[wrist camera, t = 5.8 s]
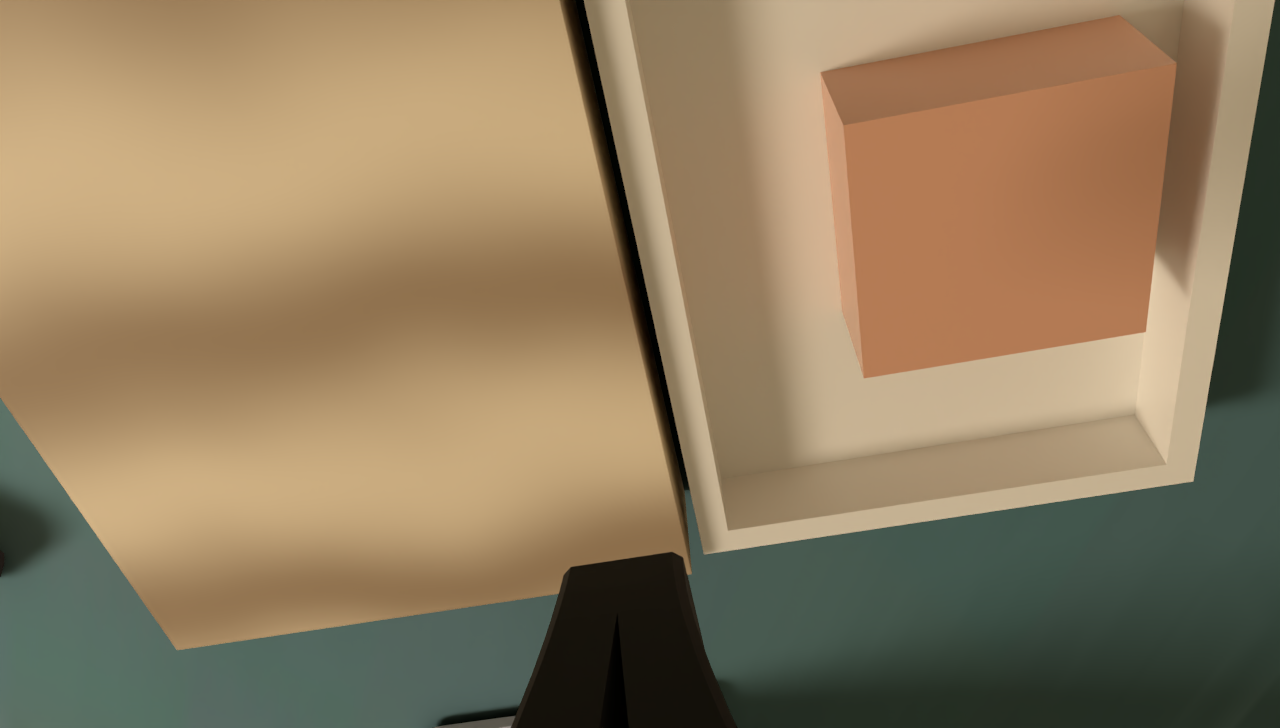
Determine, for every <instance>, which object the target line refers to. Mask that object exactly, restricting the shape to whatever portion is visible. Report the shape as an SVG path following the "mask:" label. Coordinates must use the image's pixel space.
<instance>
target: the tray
mask: <svg viewBox="0 0 1280 728" xmlns="http://www.w3.org/2000/svg"><path fill="white" fill-rule="evenodd" d="M1274 2H1275V0H584V4H585V9H586V13H587V18H588V22H589V27H590V32H591V36H592V41H593V45H594V50H595V55H596V59H597V64H598V68H599V73H600V78H601V82H602V87H603V91H604V96H605V101H606V105H607V110H608V114H609V119H610V124H611V128H612V133H613V137H614V142H615V147H616V151H617V156H618V161H619V165H620V170H621V174H622V179H623V184H624V188H625V193H626V197H627V202H628V207H629V211H630V216H631V220H632V225H633V230H634V234H635V239H636V243H637V248H638V253H639V257H640V262H641V266H642V271H643V276H644V280H645V285H646V289H647V294H648V299H649V303H650V308H651V312H652V317H653V322H654V326H655V331H656V335H657V340H658V345H659V349H660V354H661V359H662V363H663V368H664V372H665V377H666V382H667V386H668V391H669V395H670V400H671V405H672V409H673V414H674V418H675V423H676V428H677V432H678V437H679V441H680V446H681V451H682V455H683V460H684V464H685V469H686V474H687V478H688V483H689V487H690V492H691V497H692V501H693V506H694V510H695V515H696V520H697V524H698V529H699V533H700V538H701V543H702V547H703V552H704V554H710V553H717V552H724V551H730V550H737V549H744V548H750V547H757V546H764V545H770V544H777V543H784V542H790V541H797V540H804V539H811V538H817V537H824V536H831V535H837V534H844V533H851V532H857V531H864V530H871V529H878V528H884V527H891V526H898V525H904V524H911V523H918V522H924V521H931V520H938V519H944V518H951V517H958V516H965V515H971V514H978V513H985V512H991V511H998V510H1005V509H1011V508H1018V507H1025V506H1031V505H1038V504H1045V503H1052V502H1058V501H1065V500H1072V499H1078V498H1085V497H1092V496H1098V495H1105V494H1112V493H1118V492H1125V491H1132V490H1139V489H1145V488H1152V487H1159V486H1165V485H1172V484H1179V483H1185V482H1192V481H1193V479H1194V474H1195V468H1196V462H1197V456H1198V450H1199V444H1200V438H1201V432H1202V426H1203V421H1204V415H1205V409H1206V403H1207V397H1208V391H1209V385H1210V379H1211V373H1212V368H1213V362H1214V356H1215V350H1216V344H1217V338H1218V332H1219V326H1220V320H1221V315H1222V309H1223V303H1224V297H1225V291H1226V285H1227V279H1228V273H1229V267H1230V262H1231V256H1232V250H1233V244H1234V238H1235V232H1236V226H1237V220H1238V214H1239V209H1240V203H1241V197H1242V191H1243V185H1244V179H1245V173H1246V167H1247V161H1248V155H1249V150H1250V144H1251V138H1252V132H1253V126H1254V120H1255V114H1256V108H1257V102H1258V97H1259V91H1260V85H1261V79H1262V73H1263V67H1264V61H1265V55H1266V49H1267V44H1268V38H1269V32H1270V26H1271V20H1272V14H1273V8H1274ZM1117 15H1120V16H1121V17H1123V18H1124V19H1125V20H1126V21H1127V22H1128V23H1130V24H1131V25H1132V26H1133V27H1134V28H1136V29H1137V30H1138V31H1139V32H1140V33H1142V34H1143V35H1144V36H1145V37H1146V38H1148V39H1149V40H1150V41H1151V42H1152V43H1153V44H1155V45H1156V46H1157V47H1158V48H1159V49H1161V50H1162V51H1163V52H1164V53H1165V54H1167V55H1168V56H1169V57H1170V58H1171V59H1172V60H1174V61H1175V62H1176V63H1177V67H1176V76H1175V85H1174V93H1173V102H1172V111H1171V119H1170V128H1169V136H1168V145H1167V154H1166V162H1165V171H1164V180H1163V188H1162V197H1161V206H1160V214H1159V223H1158V231H1157V240H1156V249H1155V257H1154V266H1153V275H1152V283H1151V292H1150V301H1149V309H1148V318H1147V326H1146V332H1144V333H1137V334H1131V335H1125V336H1119V337H1113V338H1107V339H1101V340H1095V341H1089V342H1083V343H1077V344H1071V345H1065V346H1058V347H1052V348H1046V349H1040V350H1034V351H1028V352H1022V353H1016V354H1010V355H1004V356H998V357H992V358H986V359H979V360H973V361H967V362H961V363H955V364H949V365H943V366H937V367H931V368H925V369H919V370H913V371H907V372H900V373H894V374H888V375H882V376H876V377H870V378H863V374H862V371H861V368H860V365H859V362H858V359H857V356H856V353H855V350H854V347H853V344H852V341H851V338H850V334H849V331H848V328H847V325H846V322H845V319H844V316H843V313H842V306H841V295H840V284H839V273H838V262H837V251H836V240H835V229H834V218H833V208H832V197H831V186H830V175H829V164H828V153H827V142H826V131H825V120H824V110H823V99H822V88H821V77H820V72H824V71H830V70H835V69H840V68H845V67H851V66H856V65H861V64H866V63H871V62H877V61H882V60H887V59H892V58H898V57H903V56H908V55H913V54H919V53H924V52H929V51H934V50H939V49H945V48H950V47H955V46H960V45H966V44H971V43H976V42H981V41H986V40H992V39H997V38H1002V37H1007V36H1013V35H1018V34H1023V33H1028V32H1034V31H1039V30H1044V29H1049V28H1054V27H1060V26H1065V25H1070V24H1075V23H1081V22H1086V21H1091V20H1096V19H1102V18H1107V17H1112V16H1117Z"/></svg>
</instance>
